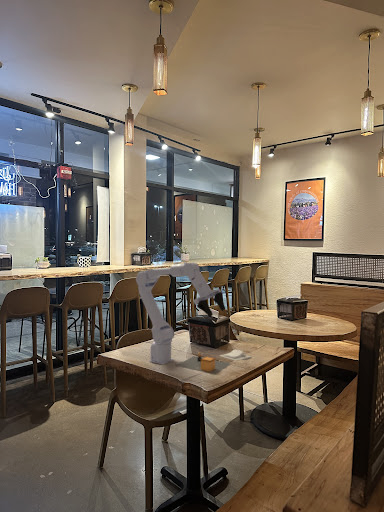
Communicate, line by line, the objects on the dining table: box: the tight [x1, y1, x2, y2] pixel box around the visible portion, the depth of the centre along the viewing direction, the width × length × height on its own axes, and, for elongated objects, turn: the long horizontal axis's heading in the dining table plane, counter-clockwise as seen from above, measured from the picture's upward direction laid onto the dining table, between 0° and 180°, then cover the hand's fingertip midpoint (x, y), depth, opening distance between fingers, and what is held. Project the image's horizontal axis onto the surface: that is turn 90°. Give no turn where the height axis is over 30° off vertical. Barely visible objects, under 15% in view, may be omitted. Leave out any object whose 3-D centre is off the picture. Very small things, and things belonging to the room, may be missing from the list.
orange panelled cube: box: [201, 356, 216, 372], centre depth 150 cm, size 5×5×4 cm
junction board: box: [175, 355, 231, 375], centre depth 156 cm, size 20×16×1 cm
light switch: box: [219, 349, 252, 362], centre depth 170 cm, size 11×4×13 cm
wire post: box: [196, 352, 203, 361], centre depth 162 cm, size 2×2×4 cm
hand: (217, 312), depth 147 cm, fingers open, 7 cm apart
